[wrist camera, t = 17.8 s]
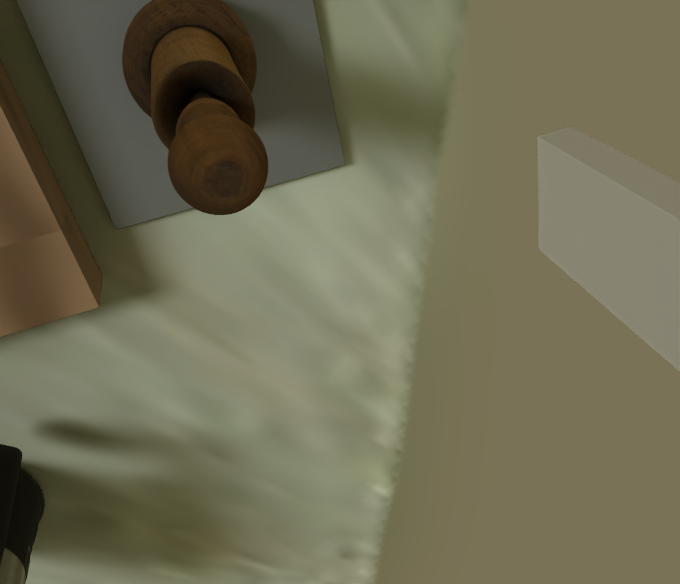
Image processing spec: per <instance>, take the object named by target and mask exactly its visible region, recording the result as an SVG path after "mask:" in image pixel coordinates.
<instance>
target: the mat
mask: <svg viewBox="0 0 680 584" xmlns="http://www.w3.org/2000/svg"><path fill="white" fill-rule="evenodd" d="M16 1H17V3H18V6H19V8H20V10H21V13H22V15H23V17H24V20H25V22H26V24H27V26H28V29H29V31H30V33H31V36H32V38H33V40H34V42H35V45H36V47H37V49H38V52H39V54H40V56H41V59H42V61H43V63H44V65H45V68H46V70H47V72H48V75H49V77H50V79H51V81H52V84H53V86H54V88H55V91H56V93H57V95H58V98H59V100H60V102H61V104H62V107H63V109H64V111H65V114H66V116H67V118H68V121H69V123H70V125H71V127H72V130H73V132H74V134H75V137H76V139H77V141H78V143H79V146H80V148H81V150H82V153H83V155H84V157H85V160H86V162H87V164H88V166H89V169H90V171H91V173H92V176H93V178H94V180H95V182H96V185H97V187H98V189H99V192H100V194H101V196H102V199H103V201H104V203H105V205H106V208H107V210H108V212H109V215H110V217H111V219H112V221H113V224H114V226H115V228H116V230H117V229H120V228H124V227H127V226H131V225H134V224H138V223H141V222H145V221H149V220H152V219H156V218H159V217H163V216H166V215H170V214H173V213H177V212H180V211H184V210H187V209H191V208H193V207H192V206H190V205H189V204H188V203H186V202H185V201H184V200H183V199H182V198H181V197H180V196H179V194H178V193H177V192H176V190H175V188H174V187H173V185H172V182H171V180H170V177H169V172H168V152H169V150H168V149H167V148H166V147H165V145H164V144H163V143H162V142H161V140H160V139H159V137H158V135H157V133H156V131H155V128H154V125H153V122H152V118H151V117H149V116H148V115H147V114H146V113H145V112H144V111H143V110H142V109H141V108H140V107H139V106H138V104H137V103H136V102H135V100H134V99H133V97H132V95H131V93H130V91H129V89H128V87H127V84H126V81H125V78H124V73H123V67H122V52H123V45H124V39H125V35H126V32H127V30H128V27H129V25H130V23H131V21H132V20H133V18H134V17H135V15H136V14H137V13H138V12H139V11H140V10H141V9H142V8H143V7H144V6H145V5H146V4H148V3H149V2H150V1H152V0H16ZM220 1H221V2H223V3H224V4H226V5H227V6H228V7H229V8H230V9H232V10H233V11H234V12H235V14H236V15H237V16H238V17H239V18H240V20H241V21H242V23H243V25H244V26H245V28H246V29H247V31H248V33H249V35H250V37H251V40H252V42H253V45H254V49H255V53H256V61H257V73H256V80H255V84H254V88H253V91H252V93H251V95H252V98H253V101H254V105H255V126H254V131H255V132H256V133H257V134H258V136H259V137H260V139H261V140H262V142H263V144H264V146H265V149H266V153H267V157H268V176H267V180H266V183H265V186H264V188H265V187H268V186H272V185H275V184H279V183H282V182H286V181H289V180H293V179H296V178H300V177H303V176H307V175H311V174H314V173H318V172H321V171H325V170H328V169H332V168H335V167H339V166H342V165H345V162H344V156H343V151H342V146H341V141H340V136H339V131H338V126H337V121H336V116H335V110H334V105H333V100H332V95H331V90H330V85H329V80H328V75H327V70H326V65H325V59H324V54H323V49H322V44H321V39H320V34H319V29H318V24H317V19H316V14H315V8H314V3H313V0H220Z"/></svg>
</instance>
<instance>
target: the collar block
mask: <svg viewBox="0 0 680 584" xmlns="http://www.w3.org/2000/svg"><path fill="white" fill-rule="evenodd" d="M102 279H103V277H102V275H101V273H100V271H99V269H98V267H97V264H96V262H95V260H94V258H93V256H92V254H91V252H90V250H89V248H88V245H87V243H86V241H85V239H84V237H83V235H82V233H81V231H80V228H79V226H78V224H77V222H76V220H75V218H74V216H73V214H72V211H71V209H70V207H69V205H68V203H67V201H66V199H65V197H64V194H63V192H62V190H61V188H60V186H59V184H58V182H57V180H56V178H55V175H54V173H53V171H52V169H51V167H50V165H49V163H48V161H47V158H46V156H45V154H44V152H43V150H42V148H41V146H40V144H39V141H38V139H37V137H36V135H35V133H34V131H33V129H32V127H31V124H30V122H29V120H28V118H27V116H26V114H25V112H24V110H23V108H22V105H21V103H20V101H19V99H18V97H17V95H16V93H15V91H14V88H13V86H12V84H11V82H10V80H9V78H8V76H7V74H6V71H5V69H4V67H3V65H2V63H1V61H0V337H1V336H4V335H8V334H11V333H14V332H18V331H21V330H25V329H28V328H31V327H35V326H38V325H41V324H45V323H48V322H51V321H55V320H58V319H62V318H65V317H68V316H72V315H75V314H78V313H82V312H85V311H88V310H92V309H95V308H99V304H100V296H101V287H102Z"/></svg>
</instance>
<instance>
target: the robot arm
mask: <svg viewBox="0 0 680 584" xmlns="http://www.w3.org/2000/svg"><path fill="white" fill-rule="evenodd" d="M537 138H538V219H539V250H540V251H541V252H542V253H544V254H545V255H546V256H547V257H548V258H549V259H551V260H552V261H553V262H554V263H555V264H556V265H558V266H559V267H560V268H561V269H562V270H563V271H564V272H566V273H567V274H568V275H569V276H570V277H571V278H572V279H574V280H575V281H576V282H577V283H578V284H579V285H581V286H582V287H583V288H584V289H585V290H586V291H588V292H589V293H590V294H591V295H592V296H593V297H594V298H596V299H597V300H598V301H599V302H600V303H601V304H603V305H604V306H605V307H606V308H607V309H608V310H609V311H611V312H612V313H613V314H614V315H615V316H616V317H617V318H619V319H620V320H621V321H622V322H623V323H625V324H626V325H627V326H628V327H629V328H630V329H631V330H632V331H634V332H635V333H636V334H637V335H638V336H640V337H641V338H642V339H643V340H644V341H645V342H646V343H648V344H649V345H650V346H651V347H652V348H653V349H654V350H656V351H657V352H658V353H659V354H660V355H661V356H663V357H664V358H665V359H666V360H667V361H668V362H669V363H671V364H672V365H673V366H674V367H675V368H676V369H677V370H679V371H680V183H679V182H678V181H676V180H674V179H672V178H670V177H668V176H666V175H664V174H662V173H660V172H658V171H656V170H654V169H653V168H651V167H649V166H646V165H645V164H643V163H641V162H639V161H637V160H635V159H633V158H631V157H629V156H627V155H625V154H623V153H621V152H619V151H617V150H615V149H614V148H612V147H610V146H608V145H606V144H604V143H602V142H600V141H598V140H596V139H594V138H592V137H590V136H589V135H587V134H585V133H583V132H581V131H579V130H577V129H575V128H573V127H567V128H564V129H560V130H557V131H554V132H550V133H547V134H544V135H540V136H538V137H537Z"/></svg>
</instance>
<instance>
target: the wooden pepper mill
mask: <svg viewBox="0 0 680 584" xmlns="http://www.w3.org/2000/svg"><path fill="white" fill-rule="evenodd" d="M122 67H123V73H124V78H125V81H126V84H127V87H128V89H129V91H130V93H131V95H132V97H133V99H134V100H135V102H136V103H137V104H138V106H139V107H140V108H141V109H142V110H143V111H144V112H145V113H146V114H147V115H148V116H149V117H151V118H152V122H153V125H154V128H155V131H156V133H157V135H158V137H159V139H160V140H161V142H162V143H163V144H164V145H165V147H166V148H167V149H168V150H169V152H168V172H169V177H170V180H171V182H172V185H173V187H174V188H175V190H176V192H177V193H178V194H179V196H180V197H181V198H182V199H183V200H184V201H185V202H186V203H188V204H189V205H190V206H192V207H193V208H195V209H197V210H199V211H202V212H204V213H208V214H213V215H227V214H232V213H236V212H239V211H241V210H243V209H245V208H246V207H248V206H249V205H251V204H252V203H253V202H254V201H255V200H256V199H257V198H258V196H259V195H260V193H261V192H262V190H263V188H264V186H265V183H266V180H267V176H268V157H267V153H266V149H265V146H264V144H263V142H262V140H261V139H260V137H259V136H258V134H257V133H256V132H255V131H254V126H255V105H254V101H253V98H252V95H251V93H252V91H253V88H254V84H255V80H256V73H257V61H256V53H255V49H254V45H253V42H252V40H251V37H250V35H249V33H248V31H247V29H246V28H245V26H244V25H243V23H242V21H241V20H240V18H239V17H238V16H237V15H236V14H235V12H234V11H233V10H232V9H230V8H229V7H228V6H227V5H226V4H224V3H223V2H221V1H220V0H152V1H150V2H149V3H148V4H146V5H145V6H144V7H143V8H142V9H141V10H140V11H139V12H138V13H137V14H136V15H135V17H134V18H133V20H132V21H131V23H130V25H129V27H128V30H127V32H126V35H125V39H124V45H123V52H122Z"/></svg>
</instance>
